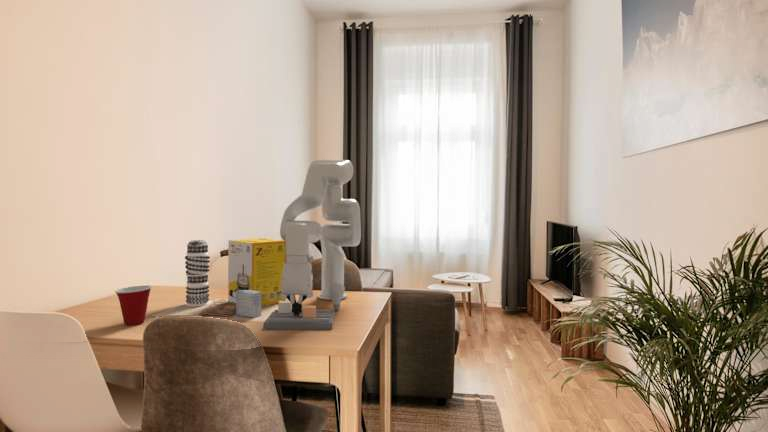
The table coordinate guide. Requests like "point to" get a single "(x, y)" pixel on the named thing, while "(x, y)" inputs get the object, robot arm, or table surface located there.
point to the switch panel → (300, 320)
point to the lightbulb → (336, 293)
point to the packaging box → (256, 268)
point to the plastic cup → (134, 303)
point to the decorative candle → (197, 273)
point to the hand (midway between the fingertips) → (296, 314)
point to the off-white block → (284, 307)
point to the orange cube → (309, 311)
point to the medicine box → (248, 303)
